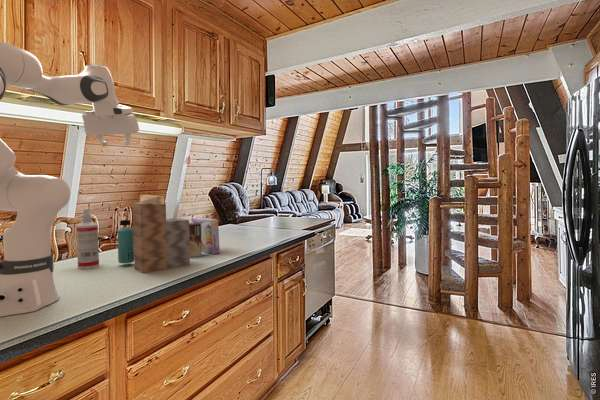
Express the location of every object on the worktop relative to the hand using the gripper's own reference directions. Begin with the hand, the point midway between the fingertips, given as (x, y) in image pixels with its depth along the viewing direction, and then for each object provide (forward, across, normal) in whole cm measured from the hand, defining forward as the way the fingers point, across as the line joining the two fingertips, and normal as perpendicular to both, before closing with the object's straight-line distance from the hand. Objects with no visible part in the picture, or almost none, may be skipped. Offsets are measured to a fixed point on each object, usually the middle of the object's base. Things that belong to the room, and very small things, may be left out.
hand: (116, 145), depth 135 cm
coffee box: (+59, +16, +13) cm, 62 cm away
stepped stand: (+52, +11, -6) cm, 54 cm away
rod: (+24, +11, -4) cm, 26 cm away
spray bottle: (+50, -21, -8) cm, 55 cm away
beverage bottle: (+52, -6, -5) cm, 53 cm away
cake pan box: (+62, +20, +23) cm, 69 cm away
